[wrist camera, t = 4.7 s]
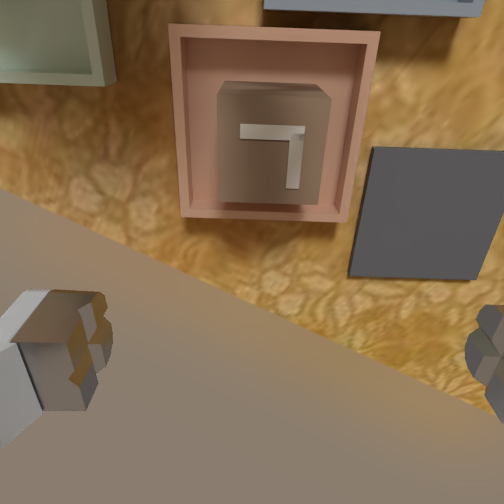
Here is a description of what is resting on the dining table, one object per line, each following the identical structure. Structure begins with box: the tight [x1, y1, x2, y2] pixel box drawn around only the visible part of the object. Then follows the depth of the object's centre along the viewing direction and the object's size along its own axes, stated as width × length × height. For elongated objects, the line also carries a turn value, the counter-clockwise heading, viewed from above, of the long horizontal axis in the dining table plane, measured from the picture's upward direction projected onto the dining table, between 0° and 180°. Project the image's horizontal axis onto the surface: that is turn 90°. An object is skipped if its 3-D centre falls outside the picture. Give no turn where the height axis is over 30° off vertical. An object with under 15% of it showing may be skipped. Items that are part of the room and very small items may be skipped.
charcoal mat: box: [348, 146, 504, 280], centre depth 28 cm, size 10×10×1 cm
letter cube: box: [217, 81, 332, 205], centre depth 22 cm, size 6×6×6 cm
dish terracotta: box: [168, 23, 381, 223], centre depth 24 cm, size 11×11×2 cm
